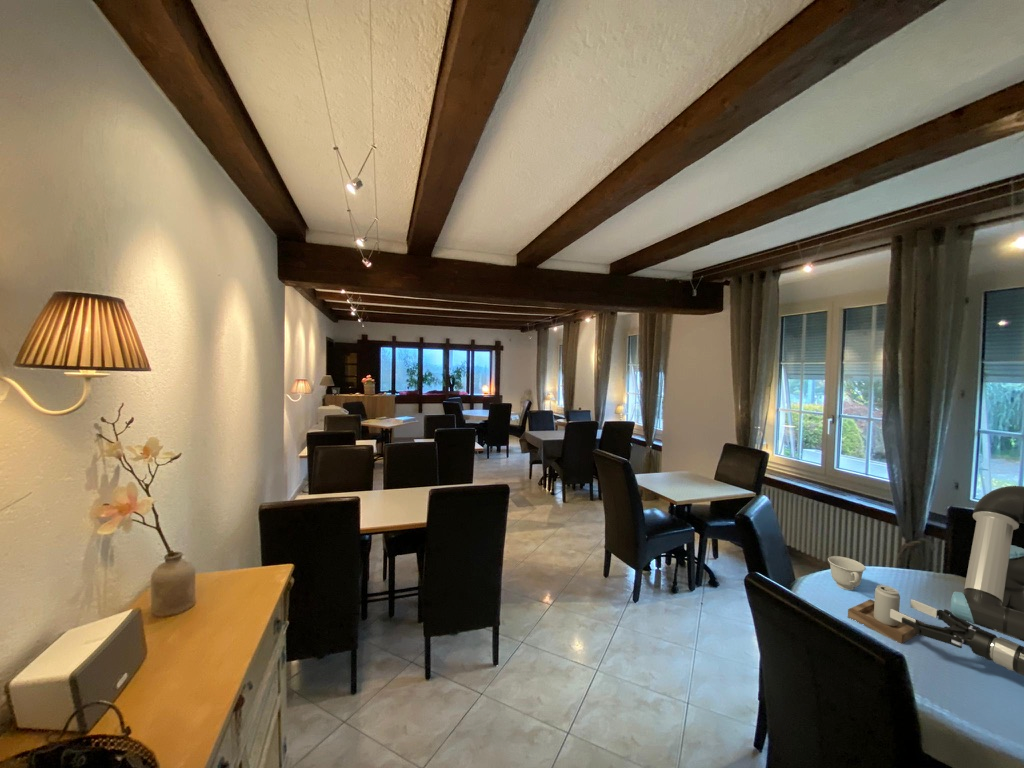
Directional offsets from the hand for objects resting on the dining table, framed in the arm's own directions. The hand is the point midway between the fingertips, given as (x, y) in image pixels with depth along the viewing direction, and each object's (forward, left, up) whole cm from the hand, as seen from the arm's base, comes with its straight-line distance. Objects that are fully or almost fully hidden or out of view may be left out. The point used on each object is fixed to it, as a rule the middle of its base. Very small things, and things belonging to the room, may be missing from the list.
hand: (901, 607), depth 136 cm
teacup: (-14, -22, -9) cm, 28 cm away
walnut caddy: (0, -4, -8) cm, 10 cm away
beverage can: (0, -4, -8) cm, 9 cm away
